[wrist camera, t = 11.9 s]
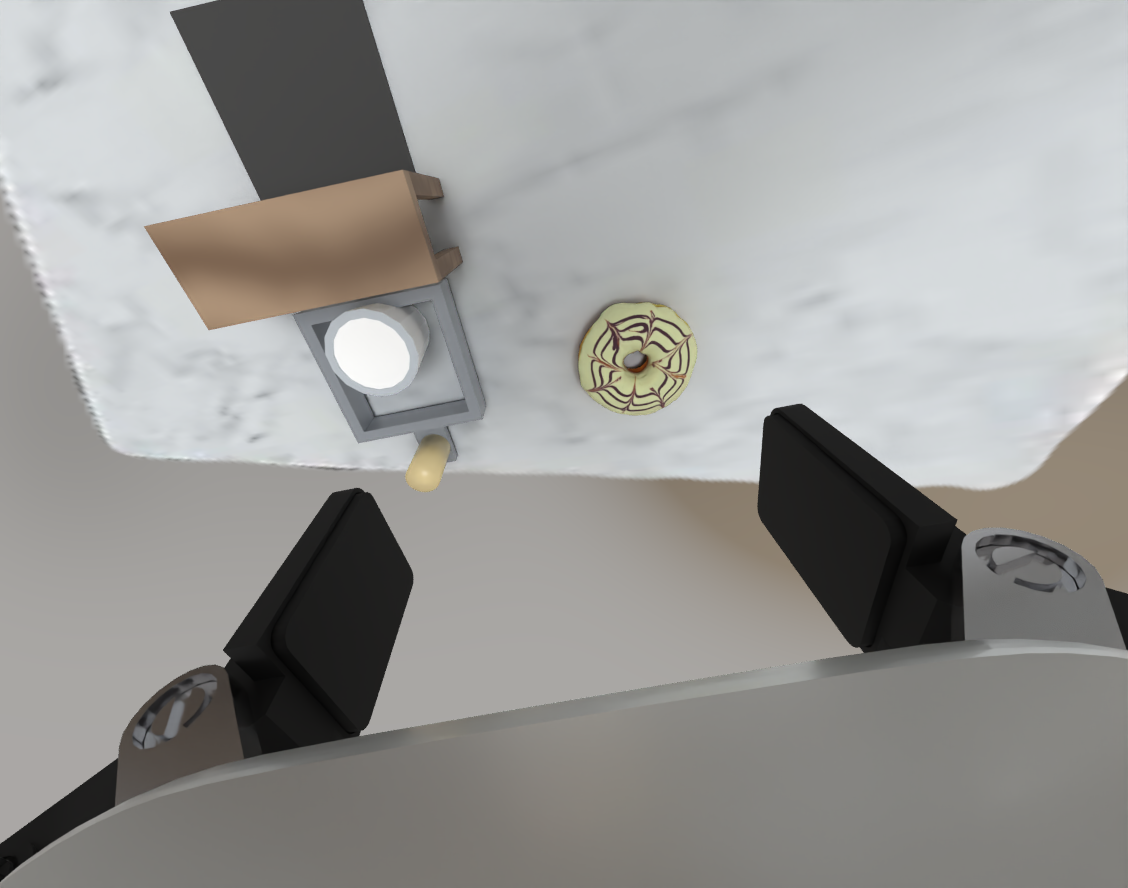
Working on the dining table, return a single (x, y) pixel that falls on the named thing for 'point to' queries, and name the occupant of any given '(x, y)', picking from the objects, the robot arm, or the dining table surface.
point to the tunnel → (306, 249)
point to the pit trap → (297, 90)
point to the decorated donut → (625, 334)
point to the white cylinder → (377, 347)
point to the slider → (422, 421)
